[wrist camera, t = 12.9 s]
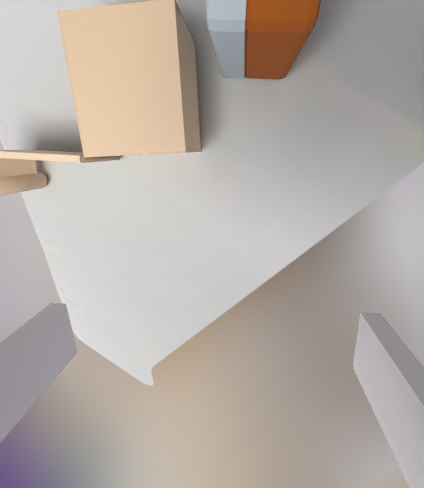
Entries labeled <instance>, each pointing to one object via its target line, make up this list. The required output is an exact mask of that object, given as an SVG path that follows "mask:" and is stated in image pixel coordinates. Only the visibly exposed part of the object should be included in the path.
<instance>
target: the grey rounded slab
mask: <svg viewBox="0 0 424 488" xmlns="http://www.w3.org/2000/svg"><path fill="white" fill-rule="evenodd" d="M320 3H321V0H205V15H206V22H207V26H208V29H209V33H210V36H211V39H212V42H213V46H214V49H215V53H216V56H217V59H218V63H219V66H220V70H221V73H222V75H223V76H225V77H228V78H244V77H245V76H246V78H261V79H282V78H284V77H285V76H286V75H287V73H288V71H289V69H290V68H291V66H292V64H293V62H294V61H295V59H296V57H297V55H298V54H299V52H300V50H301V48H302V47H303V45H304V43H305V41H306V40H307V38H308V36H309V34H310V33H311V31H312V29H313V27H314V25H315V23H316V20H317V17H318V13H319V8H320Z"/></svg>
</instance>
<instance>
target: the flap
mask: <svg viewBox="0 0 424 488" xmlns="http://www.w3.org/2000/svg"><path fill="white" fill-rule="evenodd" d="M119 159H120V156H102V157H84V155H83V152H65V151H45V150H0V196H1V195H7V194H12V193H17V192H23V191H28V190H33V189H38V188H43V187H45V186H46V184H47V179H46V176H45V175H44V174H43V173H41V172H37V167H36V160H44V161H62V162H80V163H81V162H82V163H85V162H97V161H109V160H119Z"/></svg>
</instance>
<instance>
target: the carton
mask: <svg viewBox="0 0 424 488" xmlns="http://www.w3.org/2000/svg"><path fill="white" fill-rule="evenodd" d="M57 13H58V18H59V23H60V29H61V34H62V40H63V45H64V51H65V56H66V62H67V67H68V73H69V78H70V84H71V89H72V95H73V100H74V106H75V111H76V116H77V122H78V127H79V133H80V138H81V144H82V149H83V155H84V157H102V156H122V155H142V154H161V153H181V152H201V140H200V122H199V104H198V87H197V69H196V51H195V42H194V40H193V37H192V35H191V33H190V31H189V29H188V27H187V24H186V22H185V20H184V18H183V16H182V14H181V11H180V9H179V7H178V5H177V3H176V0H151V1H143V2H134V3H126V4H117V5H108V6H100V7H91V8H83V9H74V10H65V11H57Z"/></svg>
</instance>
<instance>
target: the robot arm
mask: <svg viewBox="0 0 424 488" xmlns="http://www.w3.org/2000/svg"><path fill="white" fill-rule="evenodd" d="M76 353H77V349H76V345H75V341H74V336H73V332H72V328H71V324H70V319H69V315H68V311H67V307H66V304H53V303H51V304H50V305H48V306H47V307H46V308H44V309H43V310H42V311H41V312H39V313H38V314H37V315H36V316H34V317H33V318H32V319H30V320H29V321H28V322H27V323H26V324H24V325H23V326H22V327H20V328H19V329H18V330H16V331H15V332H14V333H12V334H11V335H10V336H9V337H7V338H6V339H5V340H4V341H2V342H1V343H0V443H1V441H2V440H3V439H4V438H5V437H6V436H7V434H8V433H9V432H10V431H11V430H12V428H13V427H14V426H15V425H16V424H17V423H18V421H19V420H20V419H21V418H22V417H23V415H24V414H25V413H26V412H27V410H28V409H29V408H30V407H31V406H32V405H33V404H34V402H35V401H36V400H37V399H38V398H39V397H40V395H41V394H42V393H43V392H44V391H45V389H46V388H47V387H48V386H49V385H50V384H51V382H52V381H53V380H54V379H55V378H56V377H57V375H58V374H59V373H60V372H61V370H62V369H63V368H64V367H65V366H66V365H67V364H68V362H69V361H70V360H71V359H72V358H73V356H74V355H75V354H76ZM353 368H354V370H355V373H356V375H357V377H358V379H359V381H360V383H361V385H362V387H363V390H364V392H365V394H366V396H367V398H368V400H369V402H370V404H371V407H372V409H373V411H374V413H375V415H376V417H377V419H378V421H379V423H380V425H381V427H382V430H383V432H384V434H385V436H386V438H387V440H388V443H389V445H390V447H391V449H392V451H393V453H394V455H395V457H396V459H397V461H398V464H399V466H400V468H401V470H402V472H403V474H404V476H405V478H406V481H407V483H408V485H409V487H410V488H424V367H423V366H422V365H421V364H420V362H419V361H418V360H417V358H416V357H415V356H414V355H413V353H412V352H411V351H410V350H409V349H408V347H407V346H406V345H405V343H403V341H402V340H401V338H400V337H399V336H398V335H397V333H396V332H395V331H394V330H393V328H392V327H391V326H390V325H389V323H388V322H387V321H386V319H385V318H384V317H383V316H382V314H379V313H361V315H360V322H359V329H358V335H357V342H356V349H355V356H354V364H353Z"/></svg>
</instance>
